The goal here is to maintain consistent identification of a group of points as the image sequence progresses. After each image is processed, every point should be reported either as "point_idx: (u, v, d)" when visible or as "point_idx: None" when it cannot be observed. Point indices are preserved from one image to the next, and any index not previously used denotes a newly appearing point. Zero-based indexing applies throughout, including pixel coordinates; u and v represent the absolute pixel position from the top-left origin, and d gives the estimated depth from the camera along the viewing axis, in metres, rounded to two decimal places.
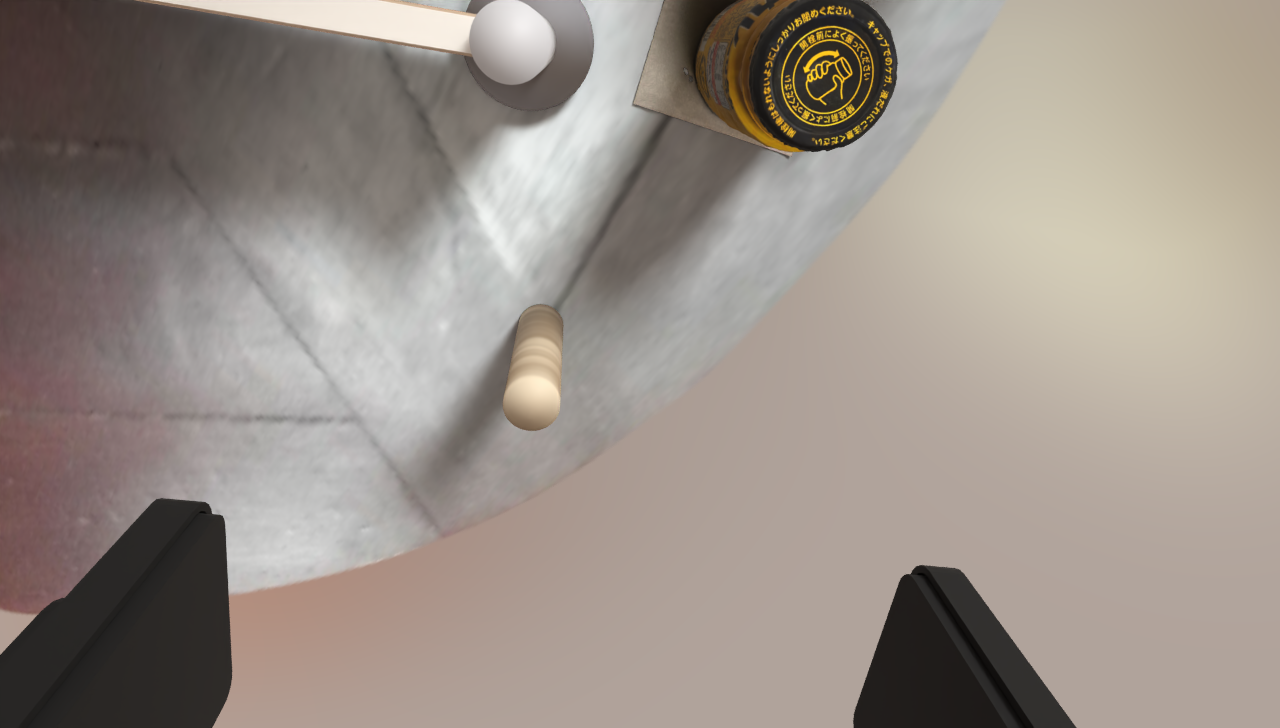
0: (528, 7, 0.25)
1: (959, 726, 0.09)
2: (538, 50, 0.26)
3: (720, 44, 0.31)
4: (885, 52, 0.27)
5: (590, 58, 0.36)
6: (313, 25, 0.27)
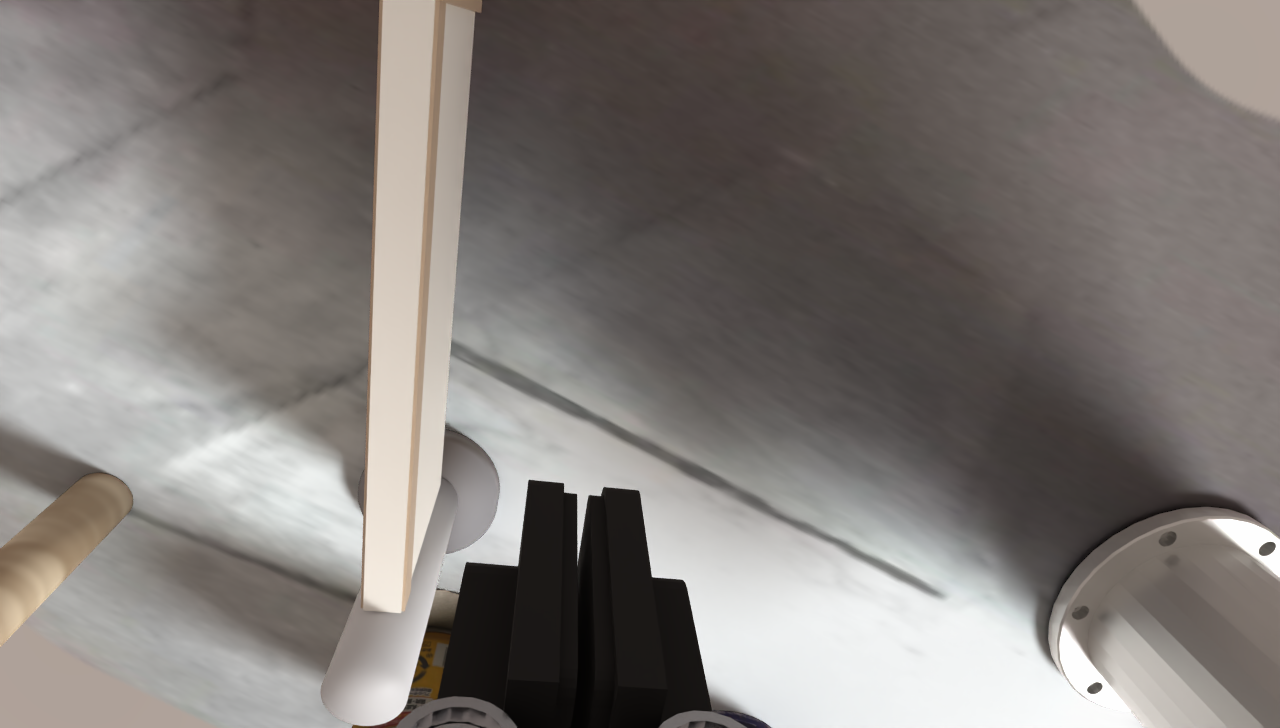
0: (401, 708, 0.24)
1: (585, 625, 0.10)
2: (360, 717, 0.24)
3: None
4: None
5: None
6: (369, 466, 0.23)
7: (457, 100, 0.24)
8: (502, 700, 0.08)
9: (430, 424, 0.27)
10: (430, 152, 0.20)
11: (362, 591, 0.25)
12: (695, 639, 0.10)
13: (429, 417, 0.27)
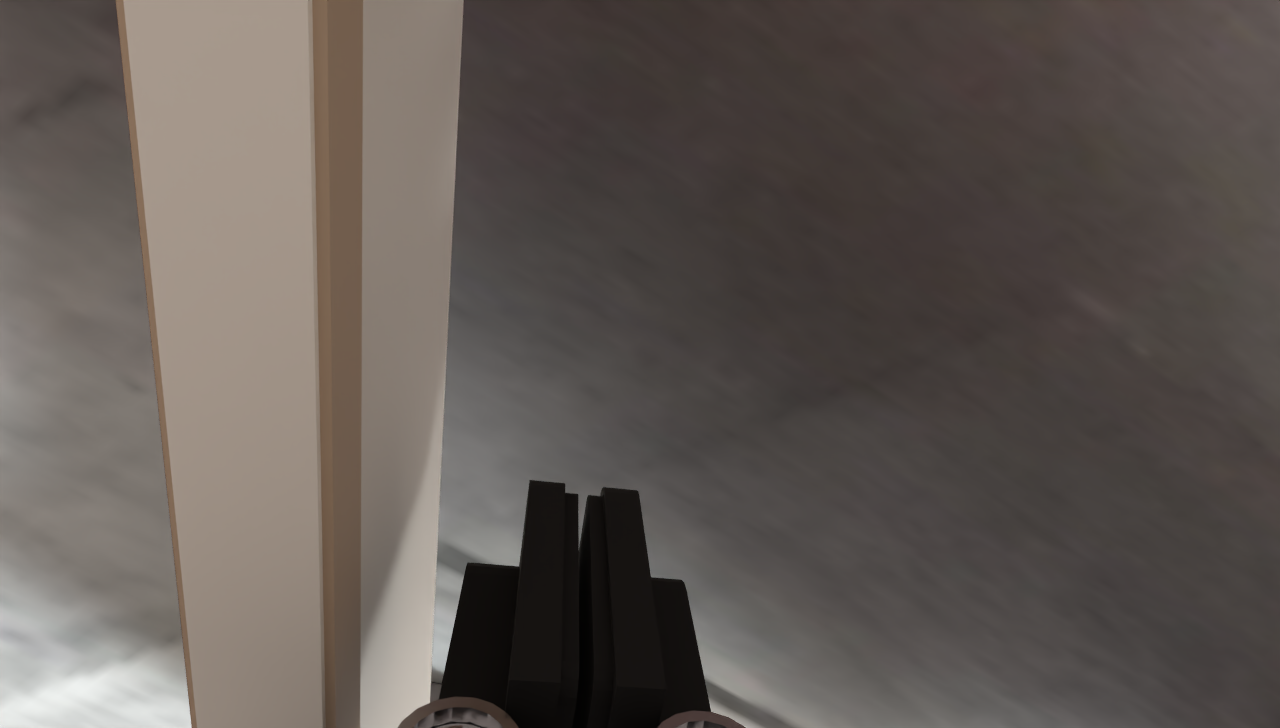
0: None
1: (584, 625, 0.10)
2: None
3: None
4: None
5: None
6: None
7: (428, 168, 0.11)
8: (503, 700, 0.08)
9: None
10: (331, 374, 0.07)
11: None
12: (694, 639, 0.10)
13: None
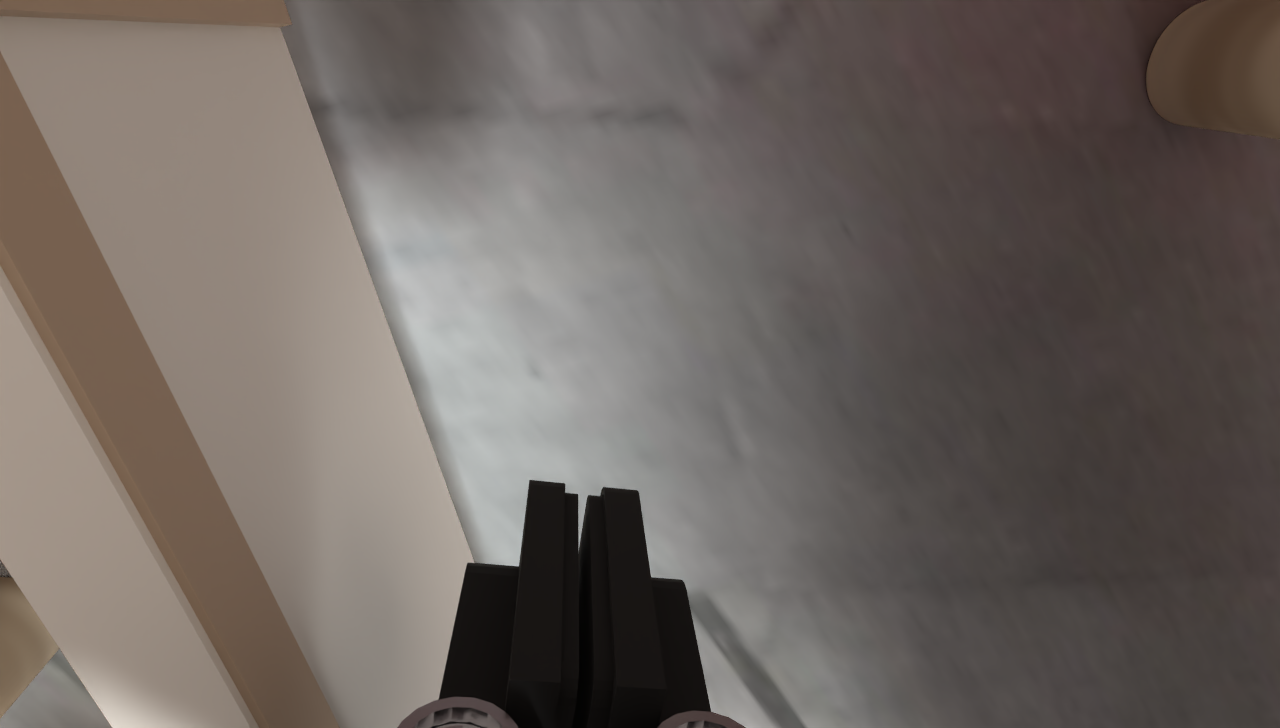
0: None
1: (584, 625, 0.10)
2: None
3: None
4: None
5: None
6: None
7: (283, 228, 0.11)
8: (503, 700, 0.08)
9: None
10: (130, 470, 0.07)
11: None
12: (694, 639, 0.10)
13: None
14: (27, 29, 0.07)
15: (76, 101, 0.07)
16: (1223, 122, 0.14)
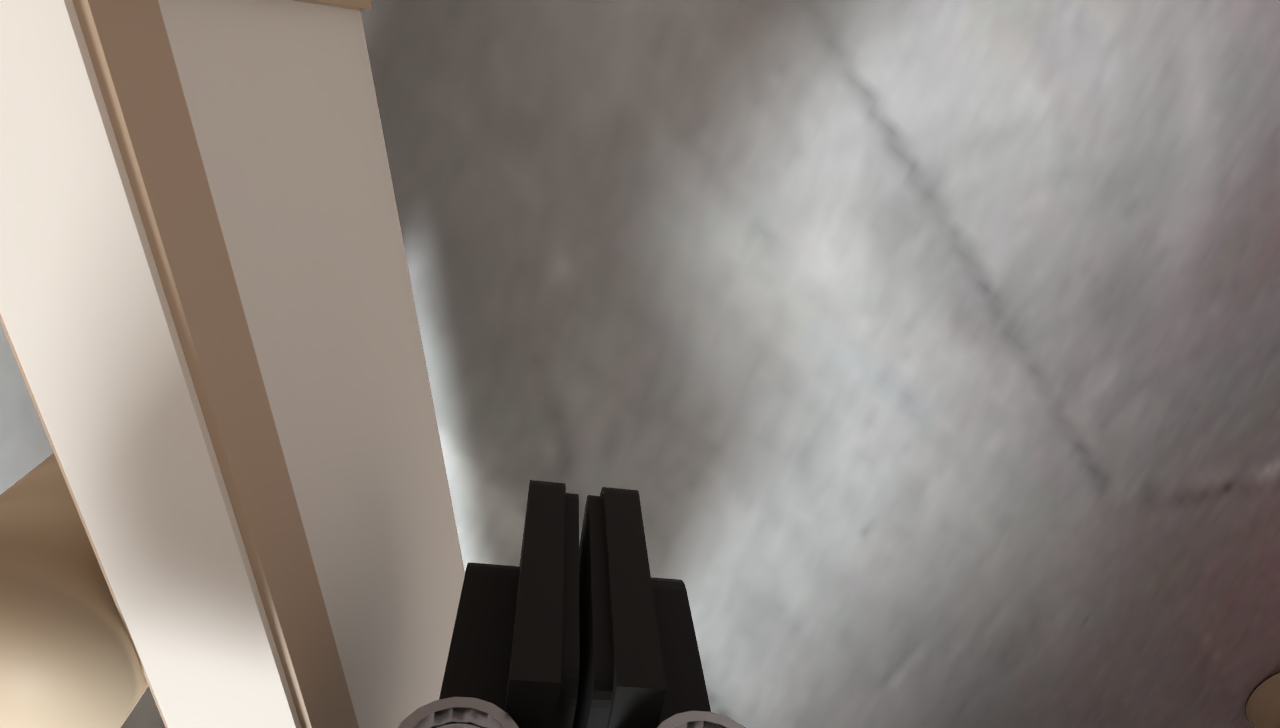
0: None
1: (584, 625, 0.10)
2: None
3: None
4: None
5: None
6: None
7: (347, 209, 0.11)
8: (504, 700, 0.08)
9: None
10: (222, 434, 0.07)
11: None
12: (694, 639, 0.10)
13: None
14: None
15: (208, 68, 0.07)
16: None
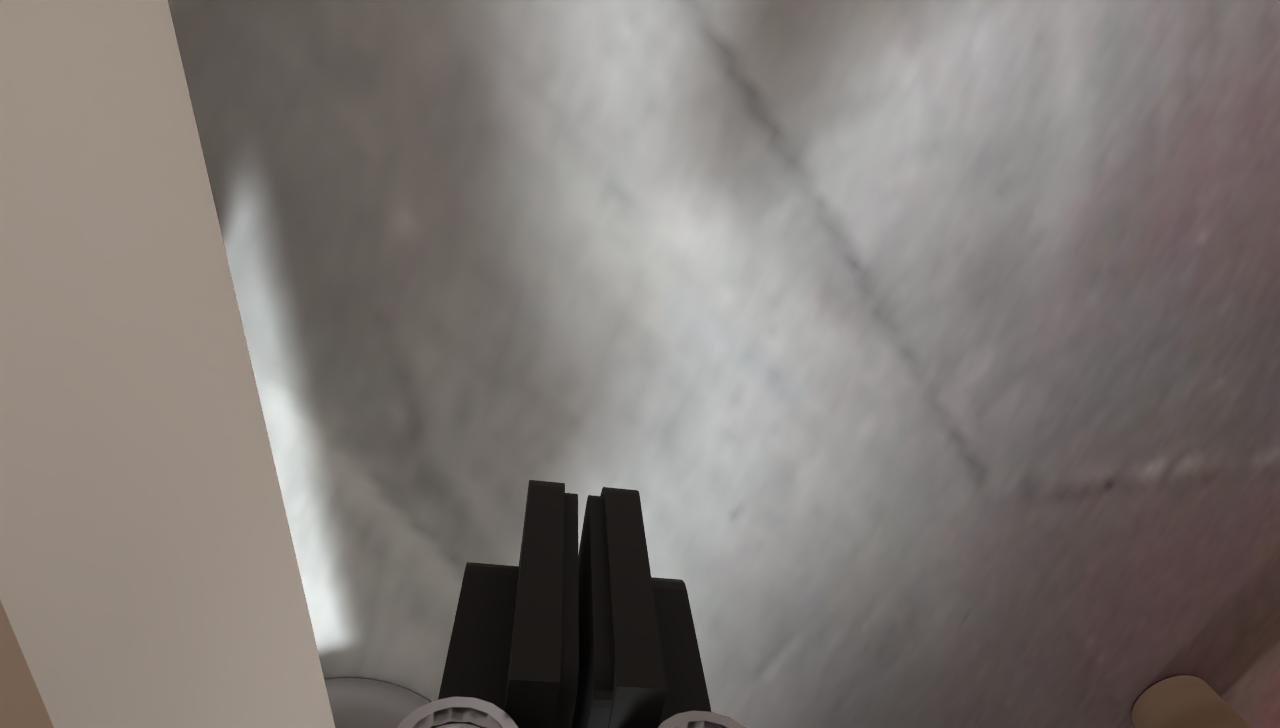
0: None
1: (584, 625, 0.10)
2: None
3: None
4: None
5: None
6: None
7: (92, 122, 0.10)
8: (503, 700, 0.08)
9: None
10: None
11: None
12: (694, 639, 0.10)
13: None
14: None
15: None
16: None
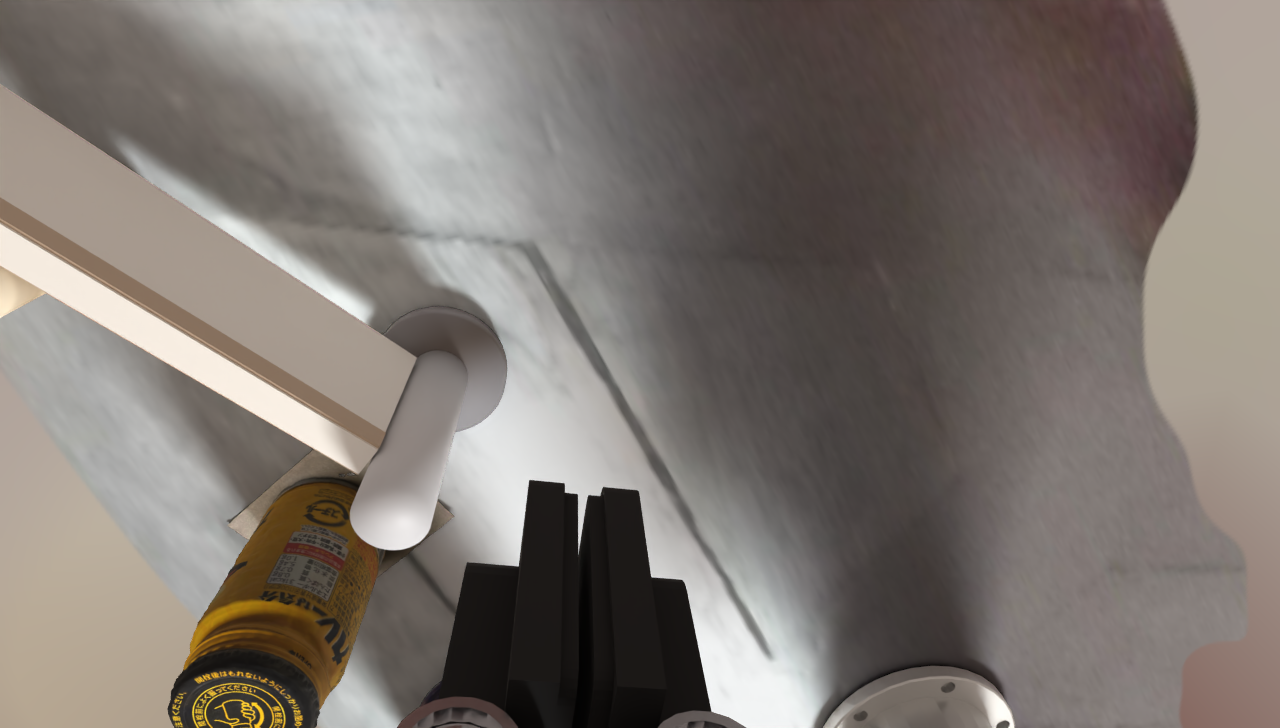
0: (423, 501, 0.25)
1: (584, 625, 0.10)
2: (414, 533, 0.26)
3: (335, 576, 0.33)
4: None
5: None
6: (213, 387, 0.25)
7: (5, 129, 0.26)
8: (503, 700, 0.08)
9: (283, 326, 0.29)
10: None
11: (341, 463, 0.27)
12: (694, 639, 0.10)
13: (269, 322, 0.28)
14: None
15: None
16: None
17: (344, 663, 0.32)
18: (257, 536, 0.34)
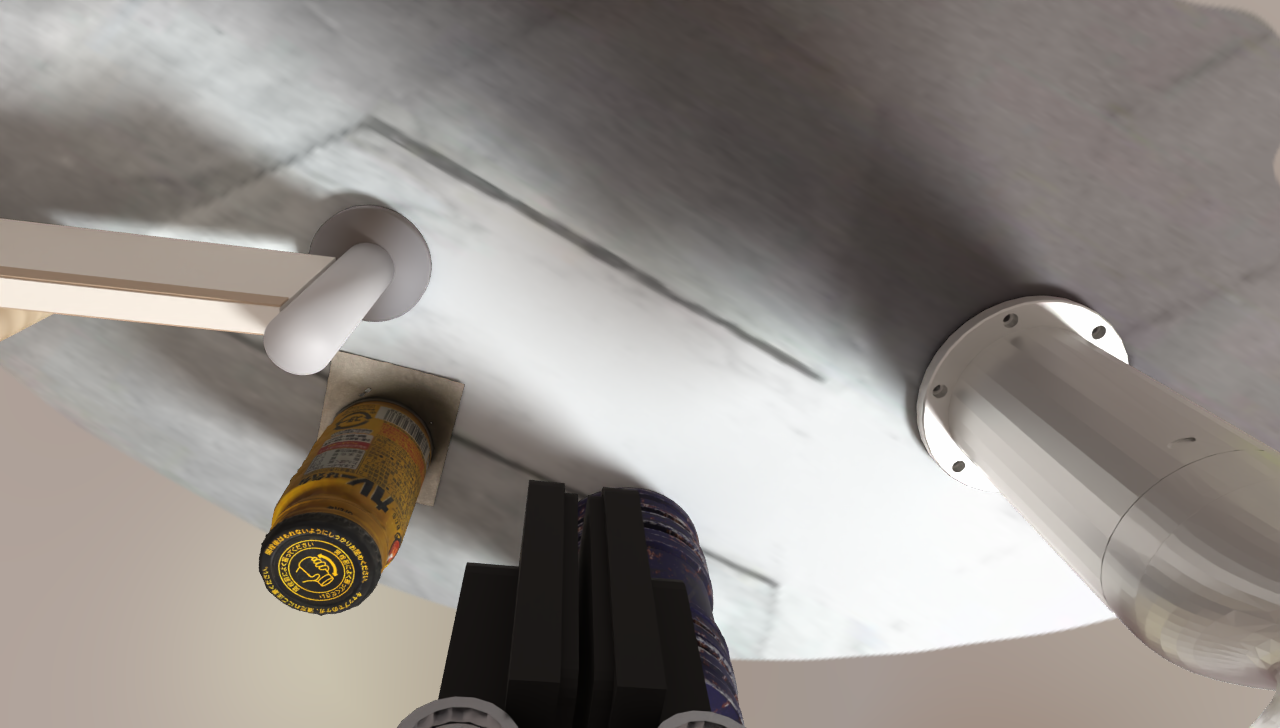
0: (311, 317, 0.29)
1: (584, 625, 0.10)
2: (324, 348, 0.30)
3: (362, 453, 0.38)
4: (341, 606, 0.35)
5: (362, 319, 0.41)
6: (139, 319, 0.31)
7: None
8: (503, 700, 0.08)
9: (193, 267, 0.34)
10: None
11: (264, 334, 0.32)
12: (694, 639, 0.10)
13: (179, 268, 0.34)
14: None
15: None
16: None
17: (392, 510, 0.37)
18: None
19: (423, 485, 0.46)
